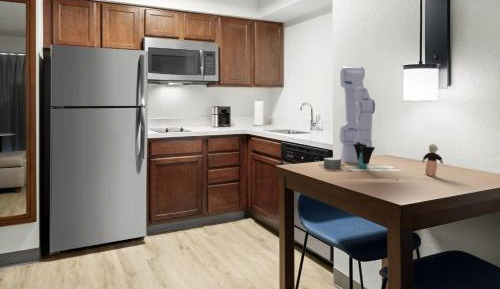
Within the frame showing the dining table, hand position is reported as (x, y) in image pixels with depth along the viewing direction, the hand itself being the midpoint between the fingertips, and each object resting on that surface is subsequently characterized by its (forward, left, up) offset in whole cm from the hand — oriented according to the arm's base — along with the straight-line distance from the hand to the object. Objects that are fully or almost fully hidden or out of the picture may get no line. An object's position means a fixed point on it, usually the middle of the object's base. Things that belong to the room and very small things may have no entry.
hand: (362, 162), depth 161 cm
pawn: (0, 0, -3) cm, 3 cm away
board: (0, -2, -4) cm, 4 cm away
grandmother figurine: (+10, +24, -4) cm, 26 cm away
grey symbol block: (-1, -12, -4) cm, 13 cm away
